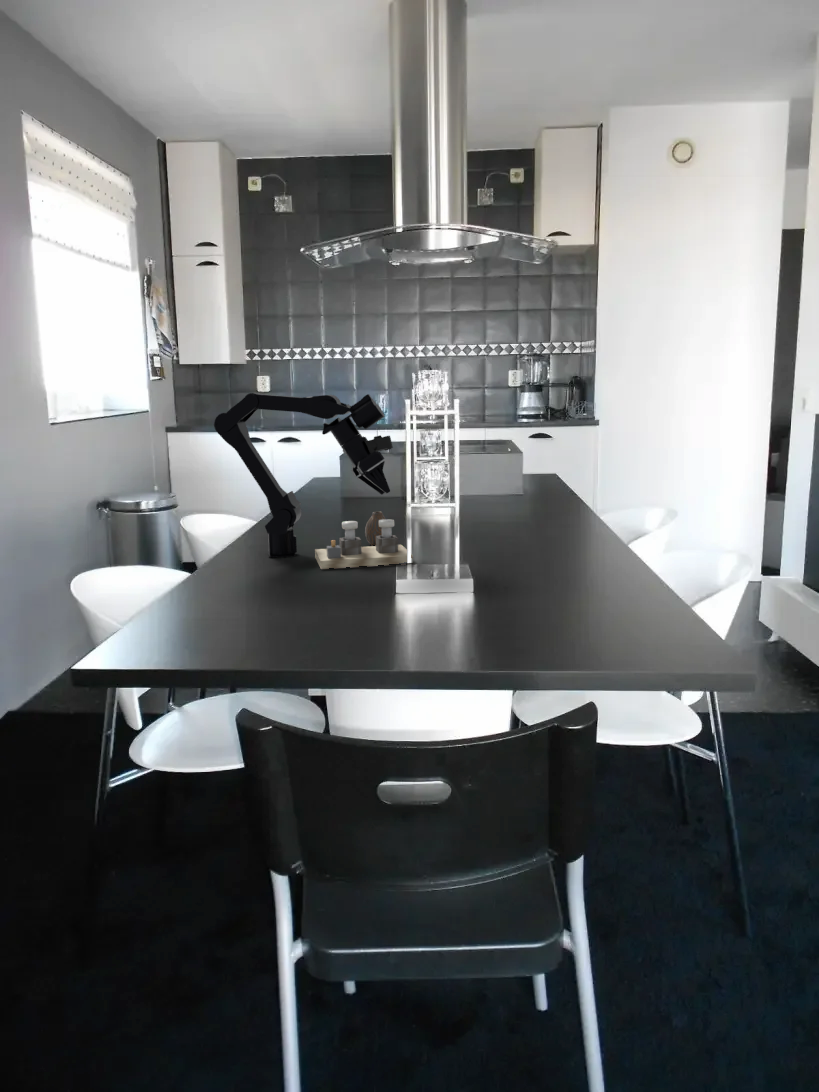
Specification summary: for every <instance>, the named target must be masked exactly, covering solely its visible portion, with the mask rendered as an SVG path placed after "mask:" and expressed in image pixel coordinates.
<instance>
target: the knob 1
mask: <svg viewBox="0 0 819 1092" xmlns="http://www.w3.org/2000/svg"><path fill="white" fill-rule="evenodd" d="M358 523H359V521H356V520H348V521H347V520H345V521H342V522H341V529H342V530H344V537H345V540H355V537H356V529H358V528H359V527H358V526H359V525H358Z"/></svg>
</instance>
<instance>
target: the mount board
mask: <svg viewBox="0 0 819 1092" xmlns="http://www.w3.org/2000/svg"><path fill="white" fill-rule="evenodd" d="M338 541H339V546H340V548H341V558H331V559H328V557H327V548H315V549H314V555H315V556H314V559H315V560H316V562H317V564H318V567H320V568H319V569H321V570H330V569H329V568H334V569H347V568H346V567H350V568H360V567H359V566H367V567H379V566H378V565H384V566H390V565H389V564H399V563H404V562H407V550H408V549H407V548H406V547H405V546H403V545H402V544H399V537H397V535H395V534H392V538H382V535H381V536H376V546H373V545H371V546H362V539H361V538H360V536H355V540H345V536H344V537H339V540H338ZM411 558H412V559H413V558H414V554H412V553H411ZM413 560H414V559H413Z"/></svg>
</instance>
